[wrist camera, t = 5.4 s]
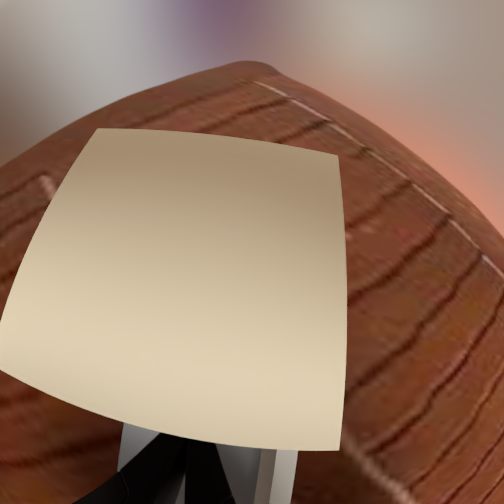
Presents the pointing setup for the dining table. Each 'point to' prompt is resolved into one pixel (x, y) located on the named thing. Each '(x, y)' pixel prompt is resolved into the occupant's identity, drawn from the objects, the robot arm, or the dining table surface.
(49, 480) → the dining table surface
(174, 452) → the robot arm
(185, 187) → the beige brown box
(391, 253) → the dining table surface
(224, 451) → the board
